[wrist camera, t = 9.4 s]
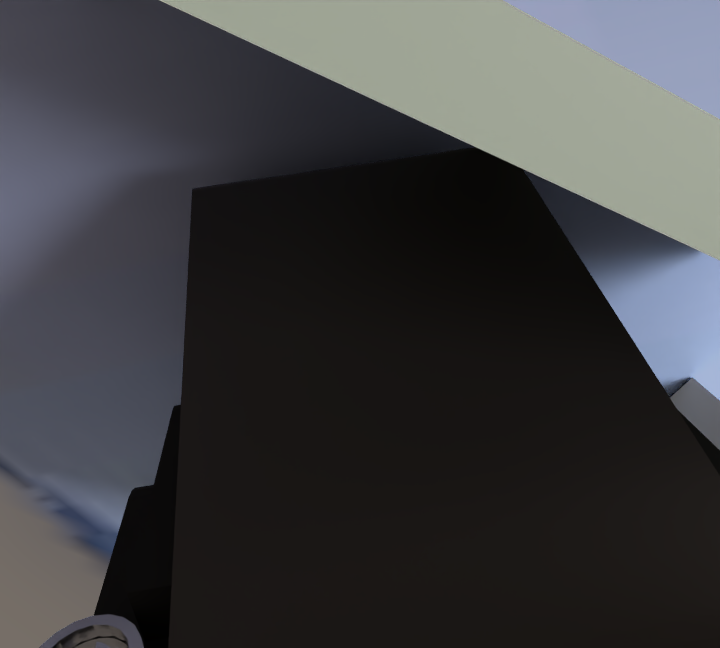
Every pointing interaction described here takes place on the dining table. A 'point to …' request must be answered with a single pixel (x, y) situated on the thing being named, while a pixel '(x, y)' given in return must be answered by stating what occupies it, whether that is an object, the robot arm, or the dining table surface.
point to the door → (508, 97)
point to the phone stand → (424, 427)
